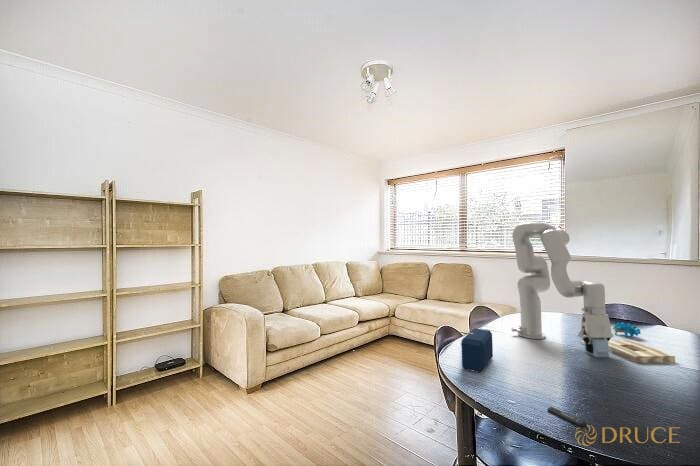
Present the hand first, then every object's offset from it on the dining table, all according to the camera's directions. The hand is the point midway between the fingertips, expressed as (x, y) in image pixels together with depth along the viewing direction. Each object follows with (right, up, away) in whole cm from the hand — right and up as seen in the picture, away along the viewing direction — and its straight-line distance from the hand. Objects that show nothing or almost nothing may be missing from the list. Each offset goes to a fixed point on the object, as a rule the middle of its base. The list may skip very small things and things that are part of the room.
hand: (596, 351), depth 136 cm
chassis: (+16, -1, 0) cm, 16 cm away
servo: (0, -1, 0) cm, 1 cm away
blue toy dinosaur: (+35, -1, +24) cm, 43 cm away
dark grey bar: (-47, -1, -48) cm, 67 cm away
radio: (-56, -2, -8) cm, 57 cm away
